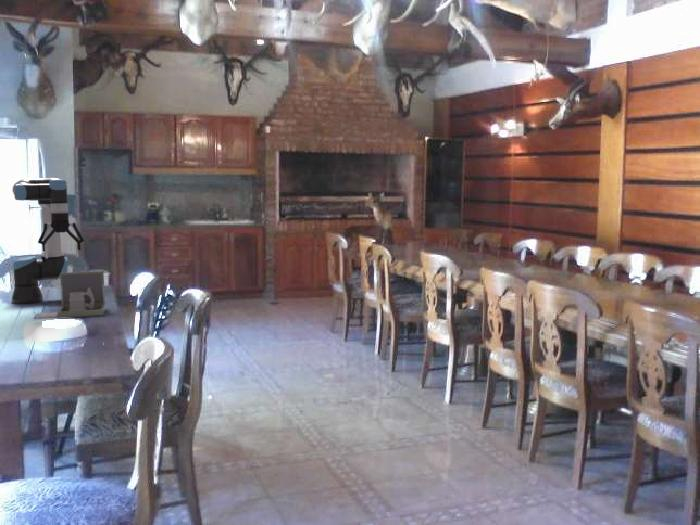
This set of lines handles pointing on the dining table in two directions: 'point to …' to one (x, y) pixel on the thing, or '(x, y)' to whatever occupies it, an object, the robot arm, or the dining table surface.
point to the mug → (80, 300)
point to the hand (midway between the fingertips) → (62, 257)
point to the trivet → (45, 315)
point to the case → (81, 284)
